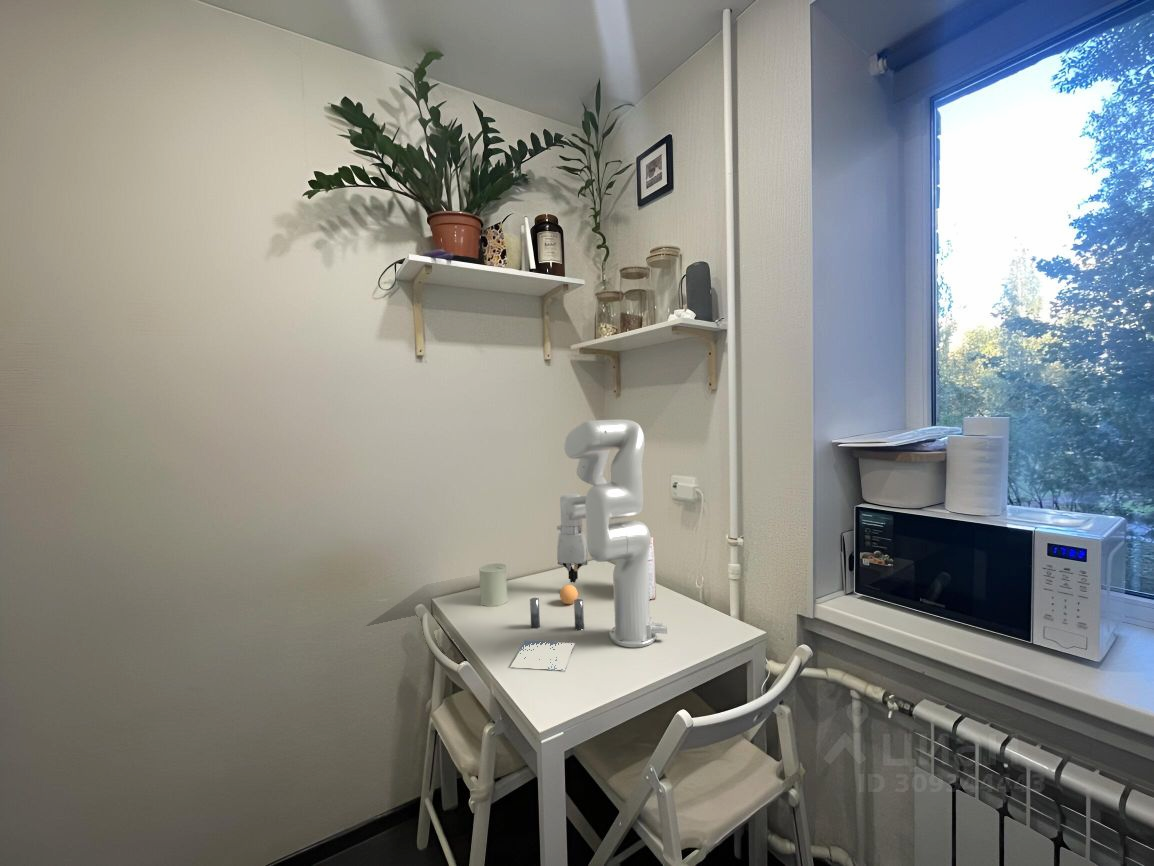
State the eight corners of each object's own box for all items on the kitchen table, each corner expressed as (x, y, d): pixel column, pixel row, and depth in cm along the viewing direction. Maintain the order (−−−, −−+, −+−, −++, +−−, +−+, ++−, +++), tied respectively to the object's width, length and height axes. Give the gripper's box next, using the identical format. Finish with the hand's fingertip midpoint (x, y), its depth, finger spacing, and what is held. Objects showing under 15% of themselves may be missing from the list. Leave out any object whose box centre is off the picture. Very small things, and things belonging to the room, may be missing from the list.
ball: (579, 600, 151) (579, 582, 151) (576, 607, 146) (575, 588, 145) (562, 599, 152) (561, 582, 152) (558, 606, 147) (557, 588, 147)
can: (502, 607, 148) (500, 570, 148) (475, 606, 150) (474, 570, 150) (511, 596, 157) (510, 562, 157) (486, 595, 159) (485, 561, 159)
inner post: (584, 626, 131) (583, 599, 131) (583, 630, 129) (582, 602, 129) (575, 626, 132) (574, 598, 132) (574, 630, 129) (573, 602, 129)
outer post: (540, 624, 133) (539, 597, 133) (538, 628, 131) (537, 601, 131) (532, 624, 134) (531, 597, 134) (529, 628, 131) (528, 601, 131)
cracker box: (620, 589, 160) (617, 530, 160) (634, 586, 163) (632, 528, 162) (641, 602, 147) (638, 538, 147) (656, 599, 150) (654, 536, 150)
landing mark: (575, 643, 121) (575, 642, 121) (565, 671, 107) (565, 670, 107) (525, 641, 124) (525, 640, 124) (508, 668, 110) (508, 667, 110)
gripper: (548, 531, 156) (550, 584, 156) (591, 532, 153) (592, 585, 154) (553, 526, 163) (554, 576, 164) (594, 527, 161) (595, 578, 161)
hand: (573, 581), depth 159 cm, fingers closed
